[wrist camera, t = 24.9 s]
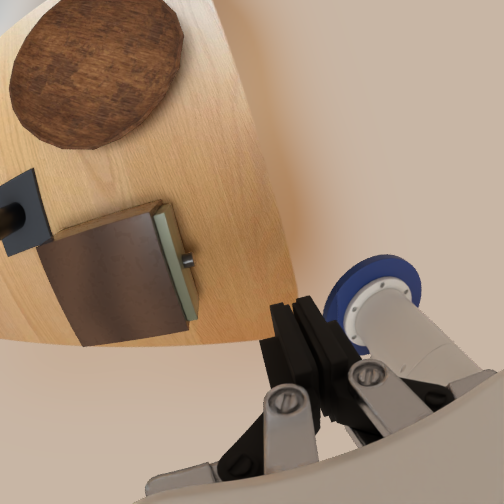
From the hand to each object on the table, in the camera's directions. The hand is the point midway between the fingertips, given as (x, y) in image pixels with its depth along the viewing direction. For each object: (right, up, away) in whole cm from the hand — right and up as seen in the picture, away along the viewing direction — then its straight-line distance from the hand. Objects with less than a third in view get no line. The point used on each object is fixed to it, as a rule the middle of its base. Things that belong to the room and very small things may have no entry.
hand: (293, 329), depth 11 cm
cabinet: (-18, +1, +22) cm, 28 cm away
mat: (-34, +8, +17) cm, 39 cm away
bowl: (-20, +25, +13) cm, 34 cm away
